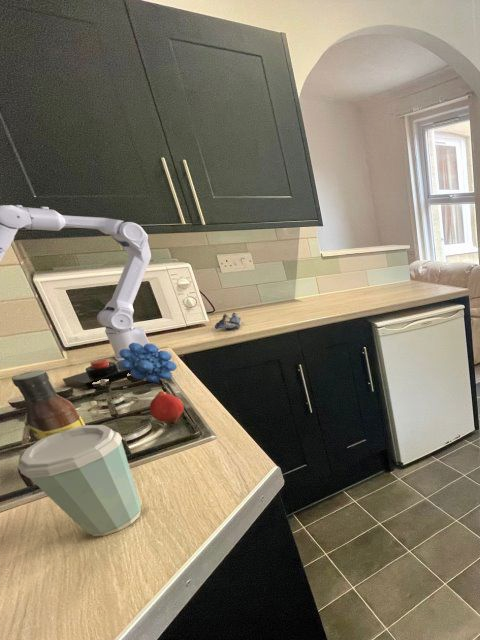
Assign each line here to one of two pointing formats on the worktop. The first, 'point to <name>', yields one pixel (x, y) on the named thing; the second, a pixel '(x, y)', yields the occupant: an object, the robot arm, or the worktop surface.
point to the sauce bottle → (45, 405)
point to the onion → (166, 407)
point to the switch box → (97, 376)
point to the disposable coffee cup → (85, 477)
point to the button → (99, 364)
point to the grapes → (147, 362)
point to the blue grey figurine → (229, 322)
